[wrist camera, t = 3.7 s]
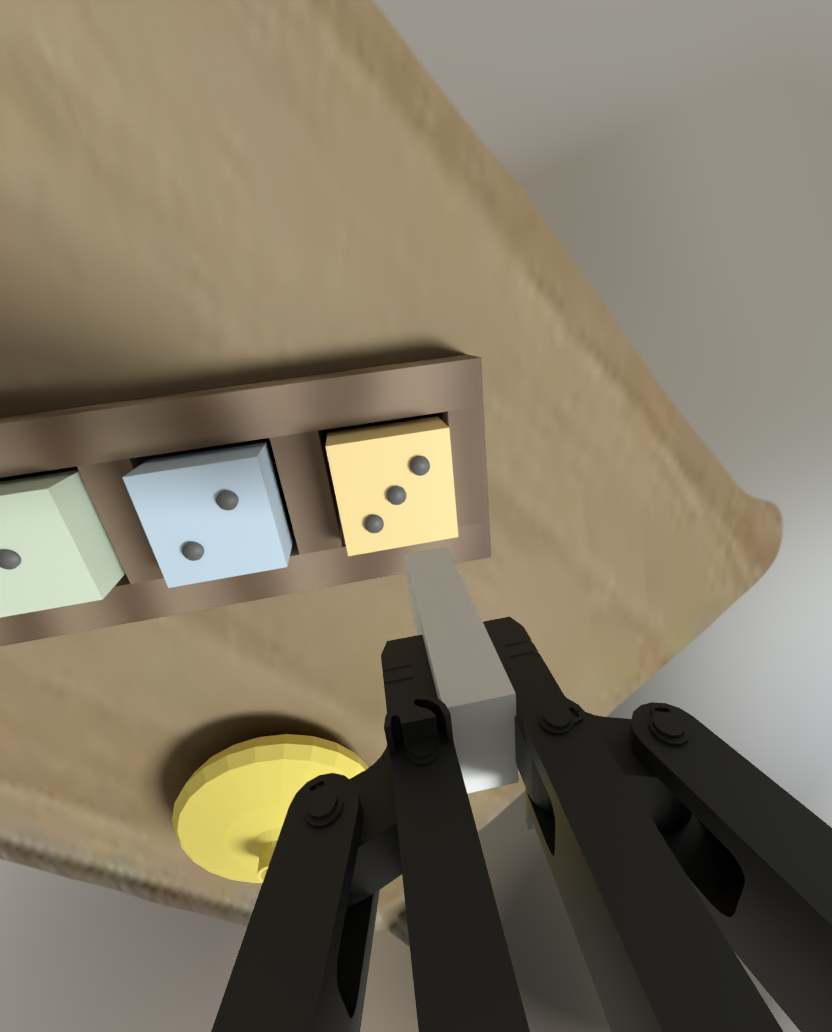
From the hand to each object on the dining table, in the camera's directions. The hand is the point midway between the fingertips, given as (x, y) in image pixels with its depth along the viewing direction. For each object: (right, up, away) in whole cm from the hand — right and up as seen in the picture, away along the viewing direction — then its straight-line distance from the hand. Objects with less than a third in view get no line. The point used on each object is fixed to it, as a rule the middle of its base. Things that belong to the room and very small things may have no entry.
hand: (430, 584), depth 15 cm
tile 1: (-21, +2, +9) cm, 22 cm away
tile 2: (-11, +3, +10) cm, 15 cm away
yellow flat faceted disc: (-12, -20, +22) cm, 32 cm away
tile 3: (-2, +5, +11) cm, 12 cm away
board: (-12, +4, +11) cm, 17 cm away
